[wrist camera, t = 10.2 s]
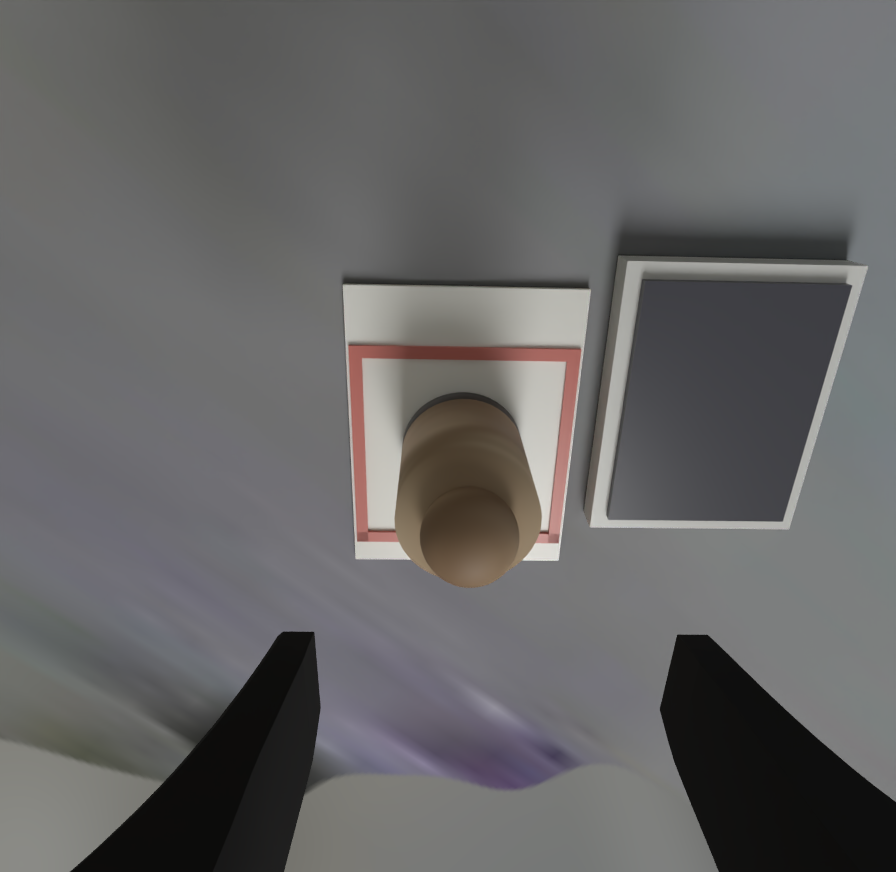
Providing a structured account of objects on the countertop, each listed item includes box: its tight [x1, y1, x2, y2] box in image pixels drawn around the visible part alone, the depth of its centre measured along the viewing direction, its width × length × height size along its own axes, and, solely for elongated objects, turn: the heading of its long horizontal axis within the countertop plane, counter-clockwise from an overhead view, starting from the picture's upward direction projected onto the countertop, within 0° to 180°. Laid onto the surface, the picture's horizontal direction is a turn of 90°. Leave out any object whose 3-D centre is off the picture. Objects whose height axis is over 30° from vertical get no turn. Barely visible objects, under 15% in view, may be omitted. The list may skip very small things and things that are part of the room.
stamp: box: [394, 392, 542, 588], centre depth 18 cm, size 4×4×7 cm
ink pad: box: [584, 255, 868, 529], centre depth 20 cm, size 7×9×1 cm
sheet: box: [343, 284, 591, 561], centre depth 21 cm, size 8×10×1 cm
